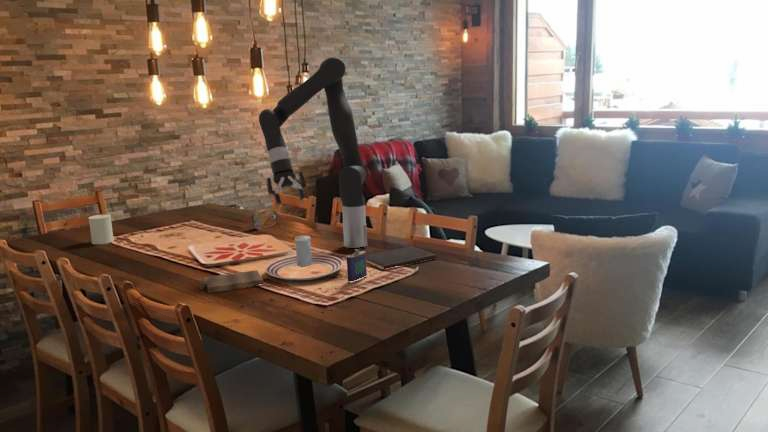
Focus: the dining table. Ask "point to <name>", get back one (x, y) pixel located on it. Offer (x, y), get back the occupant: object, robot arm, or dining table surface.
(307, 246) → the stoneware cup
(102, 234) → the can
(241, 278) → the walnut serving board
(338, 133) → the robot arm
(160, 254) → the dining table surface
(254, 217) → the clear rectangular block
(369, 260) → the hardcover book
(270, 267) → the dinner plate
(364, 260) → the flask
